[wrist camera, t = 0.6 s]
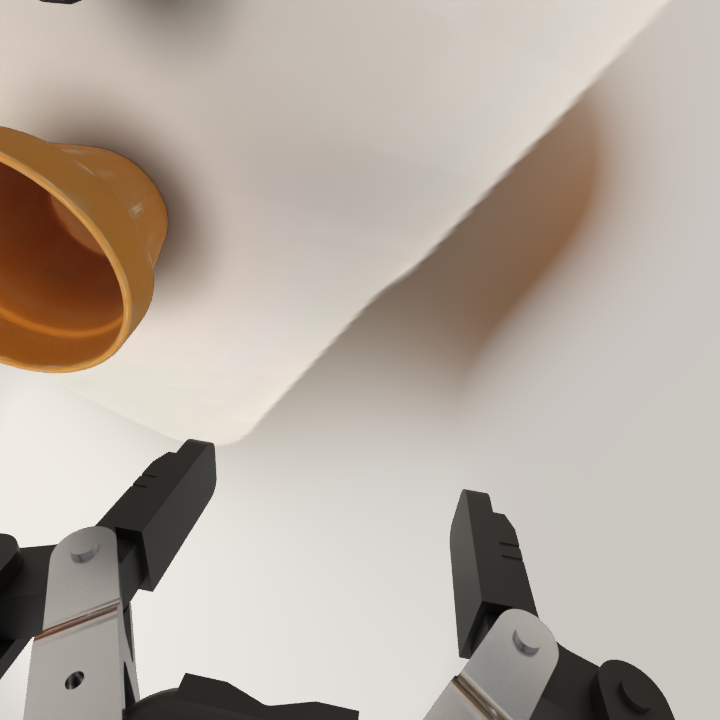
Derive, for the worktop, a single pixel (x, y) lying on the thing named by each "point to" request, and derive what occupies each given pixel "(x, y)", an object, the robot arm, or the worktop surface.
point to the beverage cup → (61, 1)
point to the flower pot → (73, 252)
